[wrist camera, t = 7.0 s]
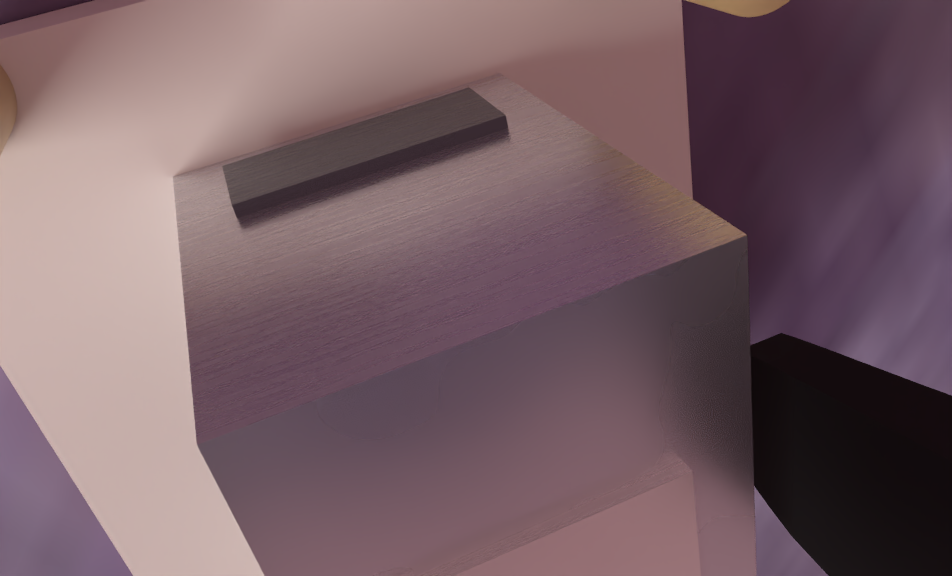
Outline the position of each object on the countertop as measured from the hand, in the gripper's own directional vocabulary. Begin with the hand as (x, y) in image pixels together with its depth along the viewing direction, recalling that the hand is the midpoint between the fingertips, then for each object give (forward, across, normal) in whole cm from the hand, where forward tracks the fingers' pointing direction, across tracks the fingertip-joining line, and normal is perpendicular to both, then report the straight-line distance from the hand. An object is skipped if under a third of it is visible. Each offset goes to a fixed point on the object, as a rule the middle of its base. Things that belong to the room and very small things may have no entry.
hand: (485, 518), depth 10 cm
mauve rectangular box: (+3, 0, 0) cm, 3 cm away
